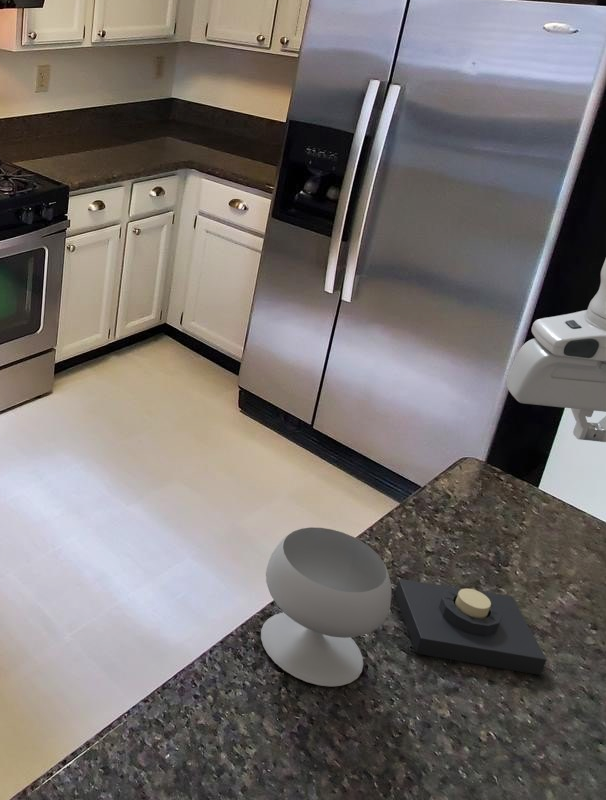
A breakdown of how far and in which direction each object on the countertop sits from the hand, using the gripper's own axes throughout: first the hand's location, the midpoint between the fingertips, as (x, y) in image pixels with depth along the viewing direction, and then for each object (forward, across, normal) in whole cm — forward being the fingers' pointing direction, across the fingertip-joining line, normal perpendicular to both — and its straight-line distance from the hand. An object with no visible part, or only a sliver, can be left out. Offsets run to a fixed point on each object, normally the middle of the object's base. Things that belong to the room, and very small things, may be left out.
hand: (588, 438), depth 99 cm
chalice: (+27, +30, +16) cm, 43 cm away
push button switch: (+23, +10, +8) cm, 26 cm away
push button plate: (+27, +10, +8) cm, 30 cm away
